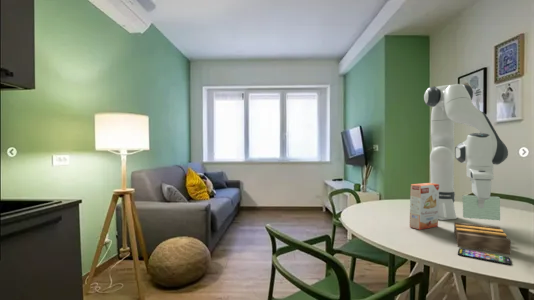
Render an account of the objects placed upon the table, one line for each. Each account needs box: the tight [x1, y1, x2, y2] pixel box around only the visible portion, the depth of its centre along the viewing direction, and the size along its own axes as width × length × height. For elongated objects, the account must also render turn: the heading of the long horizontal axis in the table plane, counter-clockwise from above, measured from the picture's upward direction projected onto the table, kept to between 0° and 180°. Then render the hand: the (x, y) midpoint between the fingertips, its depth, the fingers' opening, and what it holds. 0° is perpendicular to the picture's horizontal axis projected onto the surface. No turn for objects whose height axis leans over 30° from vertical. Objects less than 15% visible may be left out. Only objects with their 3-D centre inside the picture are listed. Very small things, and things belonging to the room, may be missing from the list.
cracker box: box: [409, 182, 439, 231], centre depth 141 cm, size 14×6×21 cm, turn 118°
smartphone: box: [457, 247, 512, 266], centre depth 104 cm, size 8×1×15 cm
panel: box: [462, 194, 501, 221], centre depth 118 cm, size 12×2×9 cm, turn 61°
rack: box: [453, 221, 511, 255], centre depth 119 cm, size 16×20×5 cm
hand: (480, 207), depth 118 cm, fingers closed on panel, 2 cm apart
